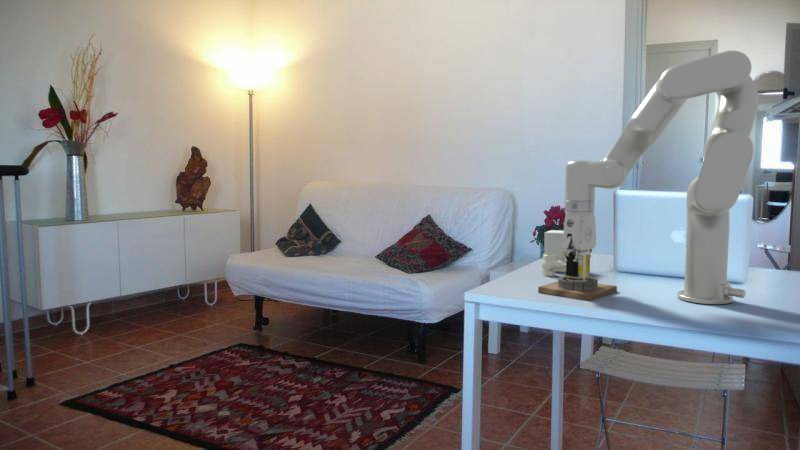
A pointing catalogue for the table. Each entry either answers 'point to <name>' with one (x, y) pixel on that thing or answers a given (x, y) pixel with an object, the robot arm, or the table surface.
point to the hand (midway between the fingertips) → (577, 273)
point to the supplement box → (555, 246)
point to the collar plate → (576, 292)
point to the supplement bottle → (581, 267)
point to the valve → (551, 265)
